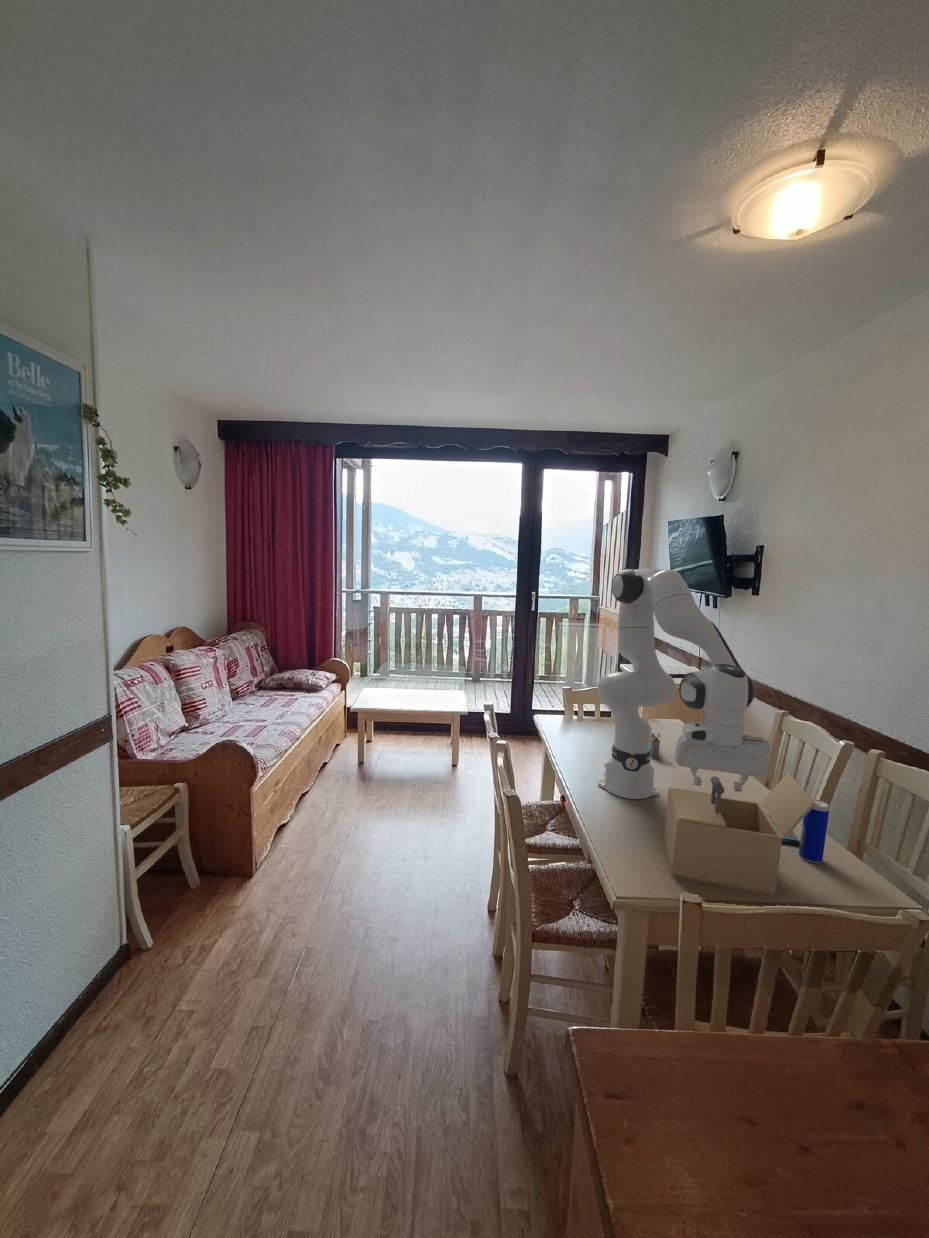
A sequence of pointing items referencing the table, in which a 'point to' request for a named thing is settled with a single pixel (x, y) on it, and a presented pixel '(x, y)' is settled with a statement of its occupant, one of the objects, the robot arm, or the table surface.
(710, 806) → the flap
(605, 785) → the robot arm
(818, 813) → the beverage can
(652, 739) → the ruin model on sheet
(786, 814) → the flap
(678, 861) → the carton
